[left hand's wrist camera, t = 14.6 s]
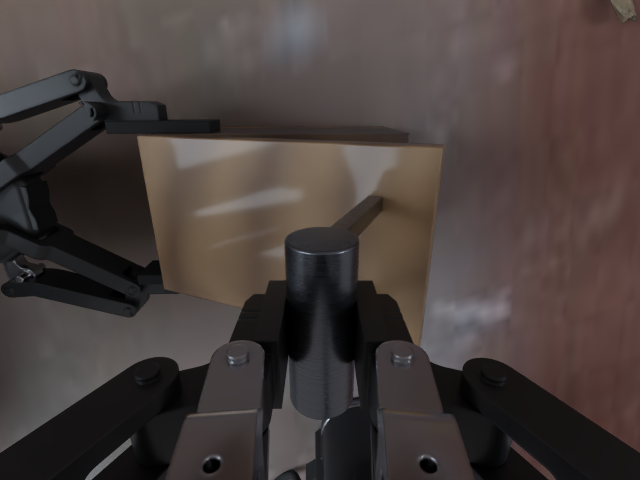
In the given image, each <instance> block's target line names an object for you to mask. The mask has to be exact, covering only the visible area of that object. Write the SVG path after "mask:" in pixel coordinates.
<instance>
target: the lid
mask: <svg viewBox="0 0 640 480" xmlns="http://www.w3.org/2000/svg"><path fill="white" fill-rule="evenodd" d="M137 140H138V145H139V151H140V157H141V162H142V168H143V173H144V179H145V184H146V190H147V195H148V201H149V207H150V212H151V218H152V223H153V229H154V234H155V240H156V246H157V251H158V257H159V262H160V268H161V273H162V279H163V284H164V289H166V290H170V291H174V292H178V293H182V294H186V295H190V296H194V297H198V298H202V299H206V300H210V301H215V302H219V303H223V304H227V305H231V306H235V307H239V308H243V306H244V303H245V301H246V300H247V299H249V298H250V297H251V296H252V295H253V294H265V292H266V289H267V286H268V282H269V280H286V300H287V325H288V350H289V376H290V397H291V401H292V404H293V405H294V407H295V408H296V409H297V410H298V411H299V412H300V413H301V414H303V415H304V416H306V417H309V418H312V419H318V420H326V419H331V418H335V417H337V416H339V415H341V414H342V413H344V412H345V411H346V410H347V409H348V407H349V406H350V404H351V402H352V399H353V384H354V347H355V323H356V300H357V291H358V280H372V281H373V283H374V286H375V289H376V293H377V294H388V295H390V296H391V297H392V298H393V299H394V300H396V301H397V303H398V306H399V308H400V312H401V313H402V316H403V320H404V321H405V323H406V326H407V328H408V331H409V333H410V336H411V338H412V341H413V343H414V344H415V345H417V346H420V342H421V338H422V329H423V321H424V313H425V305H426V297H427V289H428V281H429V273H430V265H431V257H432V248H433V240H434V232H435V224H436V216H437V208H438V200H439V192H440V184H441V176H442V167H443V159H444V151H445V145H443V144H419V143H390V142H362V141H333V140H304V139H276V138H247V137H218V136H190V135H161V134H151V135H138V136H137Z"/></svg>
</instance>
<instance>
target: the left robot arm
mask: <svg viewBox="0 0 640 480" xmlns="http://www.w3.org/2000/svg"><path fill="white" fill-rule="evenodd" d="M288 355H289V350H288V325H287V300H286V280H269V282H268V286H267V289H266V292H265V294H253V295H252V296H251V297H250V298H249V299H247V300H246V301H245V303H244V306H243V308H242V312H241V313H240V316H239V320H238V321H237V323H236V326H235V329H234V331H233V334H232V336H231V339H230V341H229V343H227V344H225V345H223V346H221V347H220V348H218V349H217V350H216V351H215V352H214V354H213V355H212V358H211V361H210V363H208V364H206V365H203V366H199V367H195V368H191V369H187V370H182V371H179V368H178V364H177V363H176V362H175V361H174V360H172V359H170V358H166V357H154V358H149V359H145V360H143V361H140V362H138V363H136V364H134V365H132V366H130V367H129V368H127V369H126V370H124V371H123V372H121V373H120V374H118V375H117V376H115V377H114V378H112V379H111V380H109V381H108V382H106V383H105V384H103V385H102V386H100V387H99V388H97V389H96V390H94V391H93V392H91V393H90V394H88V395H87V396H85V397H84V398H82V399H81V400H79V401H78V402H76V403H75V404H73V405H72V406H70V407H69V408H67V409H66V410H64V411H63V412H61V413H60V414H58V415H57V416H55V417H54V418H52V419H51V420H49V421H48V422H46V423H45V424H43V425H42V426H40V427H39V428H37V429H36V430H34V431H33V432H31V433H30V434H28V435H27V436H25V437H24V438H22V439H21V440H19V441H18V442H16V443H15V444H13V445H12V446H10V447H9V448H7V449H6V450H4V451H3V452H1V453H0V480H85V479H86V477H87V476H88V474H89V473H90V472H91V471H92V470H93V469H94V468H95V467H96V466H97V465H98V464H99V463H101V462H102V461H103V460H104V459H105V458H106V457H108V456H109V455H110V454H111V453H112V452H113V451H115V450H116V449H117V448H118V447H119V446H121V445H122V444H123V443H124V442H125V441H126V440H128V439H129V438H131V442H132V445H131V446H130V447H129V448H127V449H126V450H125V451H124V452H123V453H122V454H121V455H119V456H118V457H117V458H116V459H115V460H114V461H113V462H111V463H110V464H109V465H108V466H107V467H106V468H104V469H103V470H102V471H101V472H100V473H99V474H98V475H96V476H95V477H94V478H93V479H92V480H268V468H269V438H270V429H269V423H270V420H271V415H272V409H282V402H283V394H284V386H285V378H286V370H287V363H288ZM354 363H355V371H356V378H357V386H358V393H359V399H353V400H352V402H351V404H350V406H349V407H348V409H347V410H346V411H345V412H344V413H342V414H341V415H339V416H337V417H335V418H331V419H326V420H323V421H322V424H321V428H320V429H319V430H318V431H316V432H315V454H316V459H314V460H313V461H311V462H310V463H308V464H307V465H306V480H548V479H547V478H546V477H545V476H544V475H542V474H541V473H540V472H539V471H538V470H537V469H536V468H534V467H533V466H532V465H531V464H530V463H529V462H528V461H526V460H525V459H524V458H523V457H522V456H521V455H519V454H518V453H517V452H516V451H515V450H514V449H513V448H511V447H510V446H511V442H512V440H514V441H515V442H516V443H517V444H518V445H519V446H521V447H522V448H523V449H524V450H525V451H527V452H528V453H529V454H530V455H531V456H532V457H534V458H535V459H536V460H537V461H538V462H539V463H541V464H542V465H543V466H544V467H545V468H547V469H548V470H549V471H550V472H551V473H552V475H553V476H554V477H555V479H556V480H640V453H639V452H637V451H636V450H634V449H633V448H631V447H630V446H628V445H627V444H625V443H624V442H622V441H621V440H619V439H618V438H616V437H615V436H613V435H612V434H610V433H609V432H607V431H606V430H604V429H603V428H601V427H600V426H598V425H597V424H595V423H594V422H592V421H591V420H589V419H588V418H586V417H585V416H583V415H582V414H580V413H579V412H577V411H576V410H574V409H573V408H571V407H570V406H568V405H567V404H565V403H564V402H562V401H561V400H559V399H558V398H556V397H555V396H553V395H552V394H550V393H549V392H547V391H546V390H544V389H543V388H541V387H540V386H538V385H537V384H535V383H534V382H532V381H531V380H529V379H528V378H526V377H525V376H523V375H522V374H520V373H519V372H517V371H516V370H514V369H513V368H511V367H509V366H508V365H506V364H504V363H502V362H499V361H496V360H493V359H488V358H474V359H471V360H469V361H467V362H466V363H465V364H464V366H463V370H462V371H460V370H455V369H451V368H446V367H442V366H439V365H436V364H434V363H432V362H430V361H429V358H428V355H427V354H426V352H425V351H424V350H423V349H422V348H420V347H419V346H417V345H415V344H414V343H413V341H412V338H411V336H410V333H409V331H408V328H407V326H406V323H405V321H404V320H403V316H402V313H401V312H400V308H399V306H398V303H397V301H396V300H394V299H393V298H392V297H391V296H390V295H388V294H377V293H376V289H375V286H374V283H373V281H372V280H358V291H357V300H356V323H355V347H354ZM290 479H292V480H301V479H300V477H299V475H298V473H297V472H295V471H287V472H284V473H282V474H281V475H280V476H278V477H277V478H276V479H275V480H290Z"/></svg>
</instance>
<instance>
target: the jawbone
mask: <svg viewBox="0 0 640 480" xmlns="http://www.w3.org/2000/svg"><path fill="white" fill-rule="evenodd" d="M610 1H611V3H612V6H613V9H614V10H615V12H616V14H617V16H618V19H619V20H620V23H623V22H626V21H627V20H629V19H630V18H631V20H633V21H635V19H636V17H637V16H636V12H635V7H634V3H633V0H610Z"/></svg>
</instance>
